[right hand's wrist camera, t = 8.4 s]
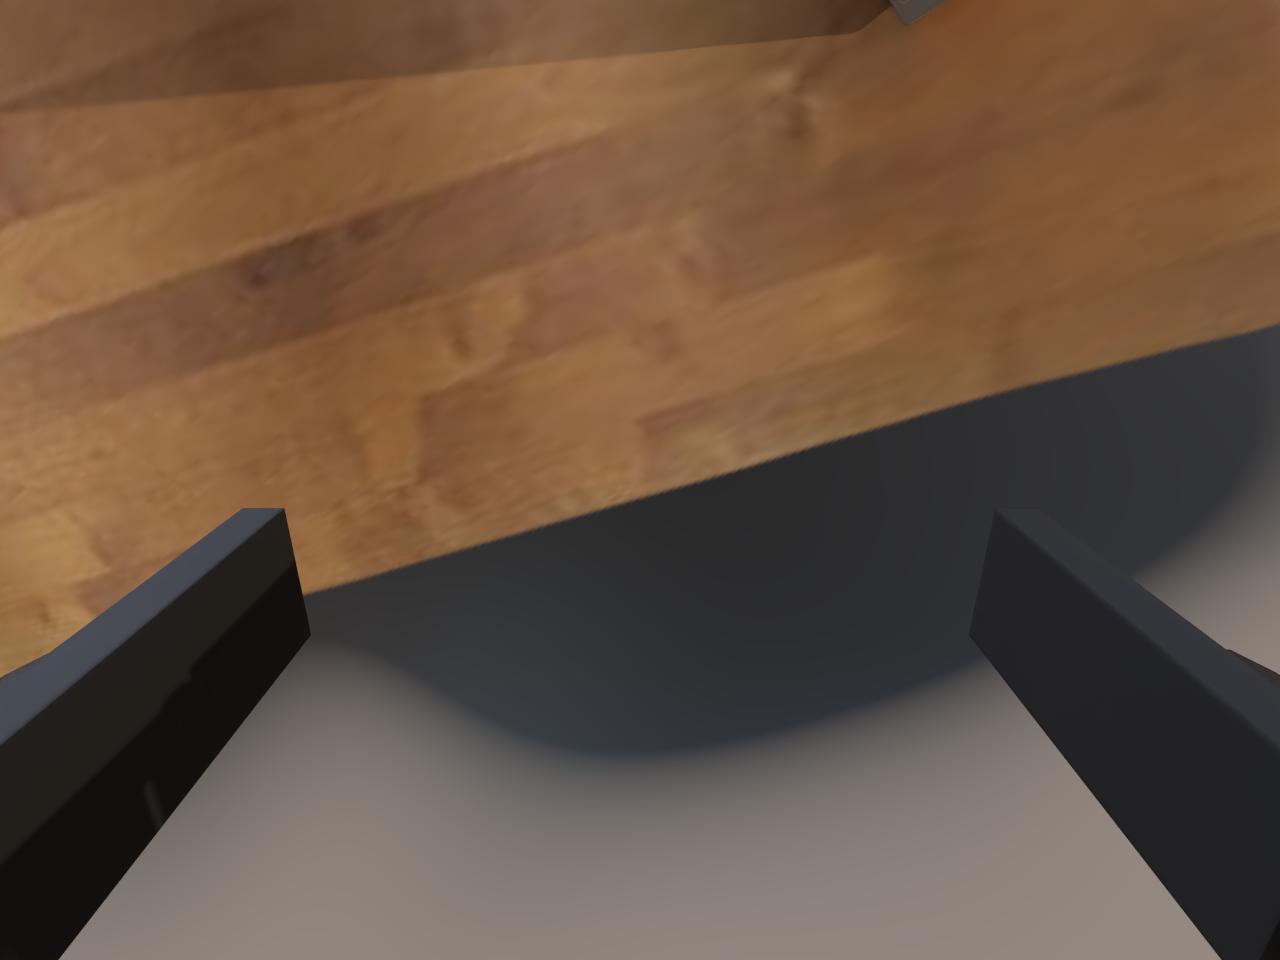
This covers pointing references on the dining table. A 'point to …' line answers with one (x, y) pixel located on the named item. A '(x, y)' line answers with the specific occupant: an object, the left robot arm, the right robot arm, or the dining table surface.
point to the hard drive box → (914, 9)
